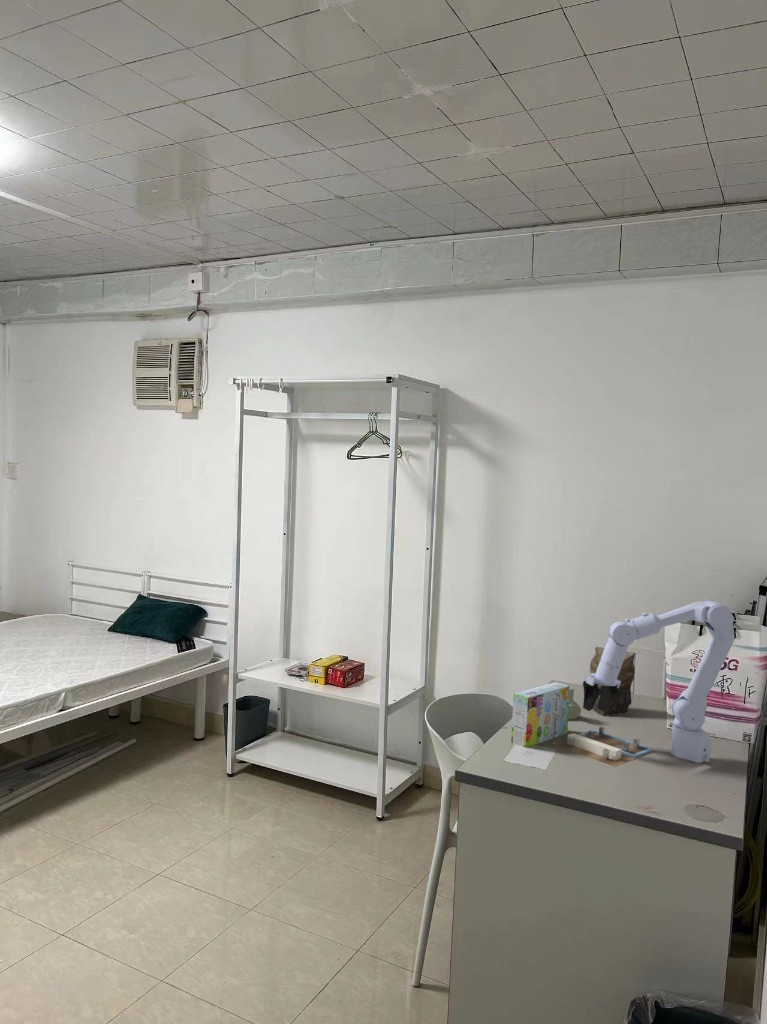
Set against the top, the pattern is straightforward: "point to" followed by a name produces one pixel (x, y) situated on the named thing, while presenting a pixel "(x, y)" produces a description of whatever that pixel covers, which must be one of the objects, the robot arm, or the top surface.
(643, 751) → the blue bezel
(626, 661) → the brown rock
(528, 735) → the snack box
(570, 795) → the top surface
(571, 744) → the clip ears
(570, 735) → the white rectangular bar
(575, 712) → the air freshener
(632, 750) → the board
